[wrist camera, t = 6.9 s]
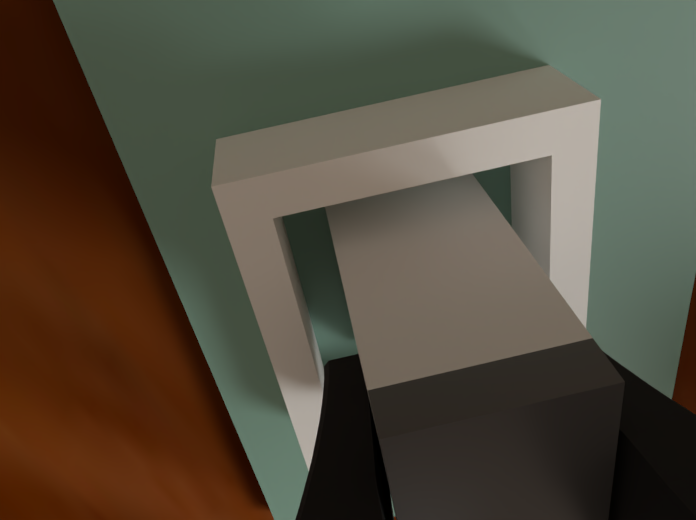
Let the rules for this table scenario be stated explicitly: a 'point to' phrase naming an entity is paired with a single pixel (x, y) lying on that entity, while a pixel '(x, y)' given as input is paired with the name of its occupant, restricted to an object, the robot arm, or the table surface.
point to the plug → (473, 362)
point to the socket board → (395, 167)
